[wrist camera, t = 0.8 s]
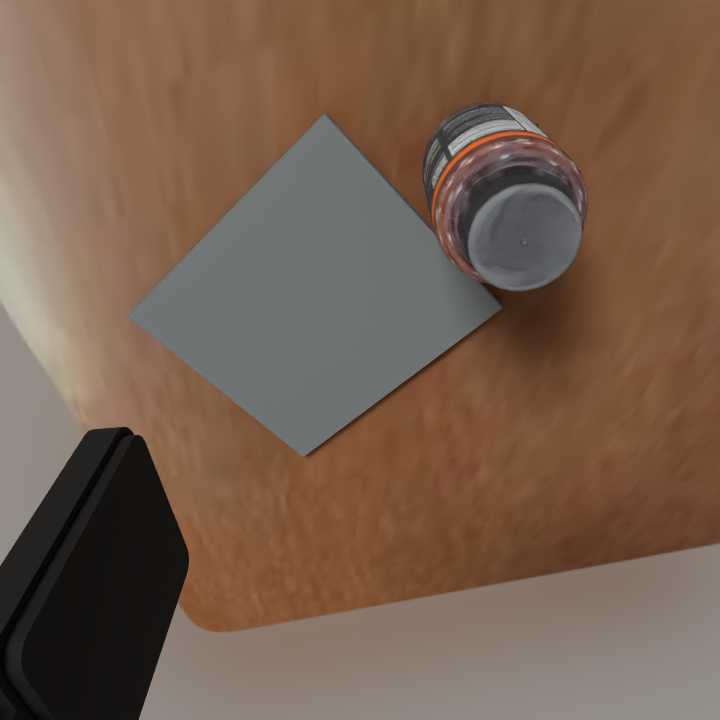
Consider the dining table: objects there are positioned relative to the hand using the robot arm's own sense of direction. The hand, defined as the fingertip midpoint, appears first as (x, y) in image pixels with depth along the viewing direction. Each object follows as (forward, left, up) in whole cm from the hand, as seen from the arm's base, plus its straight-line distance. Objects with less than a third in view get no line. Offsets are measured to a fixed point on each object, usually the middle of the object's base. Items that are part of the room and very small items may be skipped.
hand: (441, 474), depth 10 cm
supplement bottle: (-2, +4, -25) cm, 25 cm away
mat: (+10, +4, -25) cm, 27 cm away
